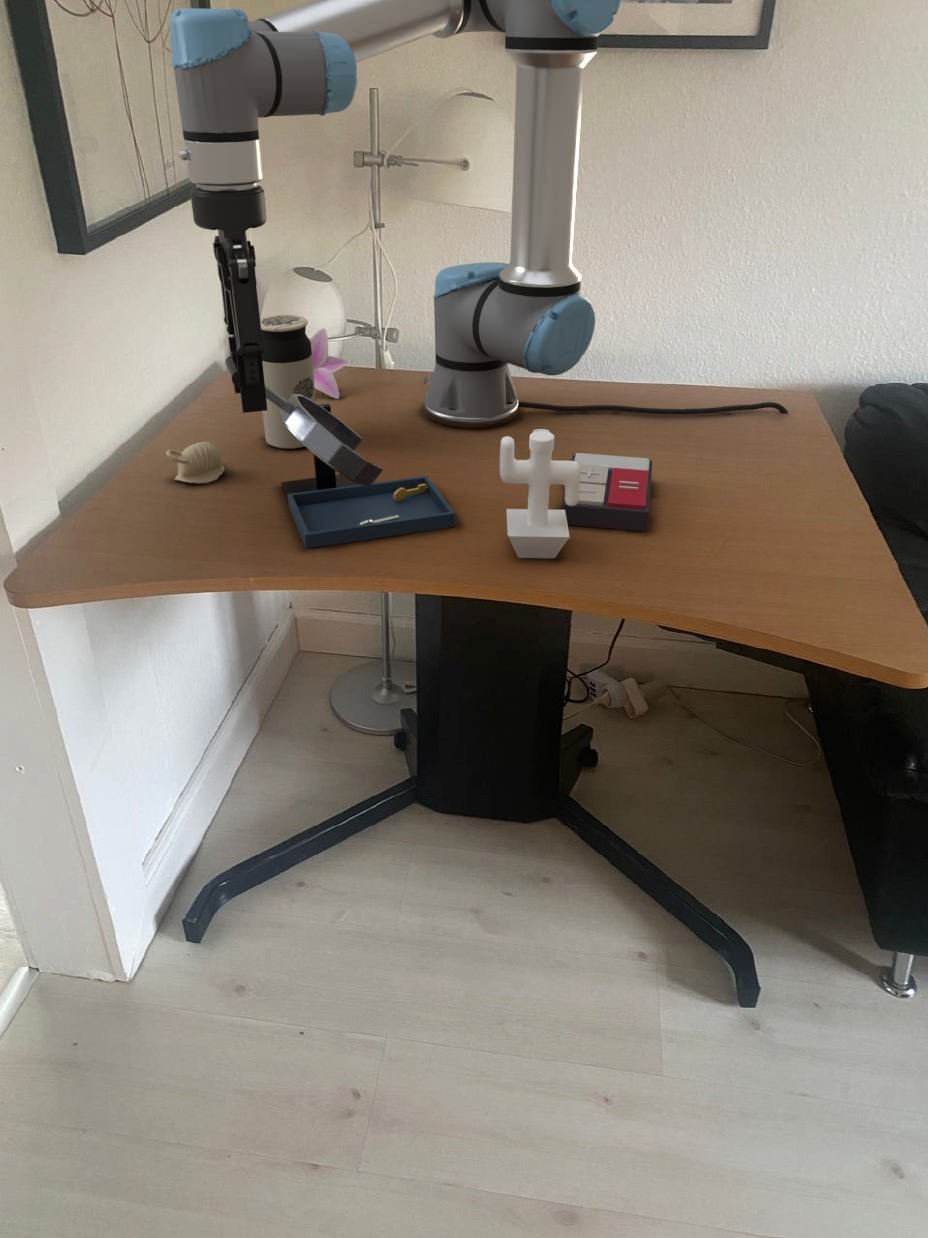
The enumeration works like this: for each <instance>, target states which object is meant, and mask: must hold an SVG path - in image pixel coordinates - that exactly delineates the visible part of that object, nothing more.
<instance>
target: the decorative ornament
mask: <svg viewBox="0 0 928 1238" xmlns="http://www.w3.org/2000/svg"><path fill="white" fill-rule="evenodd" d="M165 453H166V456H167V457H168V458H169V459H171V460H172V461H174V462H176V463H177V474H176V476H175V478H174V481H179V482H183V483H188V484H198V485H199V484H209V483H211V482H215V481H216V480H218V479H219V477H220V476H222V475H223V473H224V472H225V470H226V469H225V466H224V465H223V460H222V457H221V453H220V451H219V450H218V449H217V447H216V446H215V445H214V444H213V443H211V442H209V441H200V442H197V443H193V444H190V445H189V446H187V447H186V448H185V449H183V451H182V452H181V451H179V450H176V449H168V450H167V451H166V452H165ZM174 455H176V456H174ZM177 456H178V457H177Z"/></svg>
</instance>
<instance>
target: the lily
mask: <svg viewBox="0 0 928 1238" xmlns="http://www.w3.org/2000/svg"><path fill="white" fill-rule="evenodd" d="M309 340H310V342H311V350H312V362H313V375H314V387H315V390H318V391H320V392H322V393H324V394H325V395H327V396H329V397H331V398H334V399H336V400H337V399H340V391H339V388H338V387H339V386H338V384H337V382H336V379H335V376H334V373H335V372H337V371H339V370H341V369H342V368H344V367H346V365H347V364H348V361H347V360H345V359H342V358H340V357H336V356H334V355H333V356H332V355H329V338H328V332H327V330H326V328H323V327H322V328H320V329H319V330H318V331H316V332H315V333H314V335H312V336H311V338H310V339H309Z"/></svg>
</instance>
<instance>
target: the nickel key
mask: <svg viewBox="0 0 928 1238" xmlns="http://www.w3.org/2000/svg"><path fill="white" fill-rule="evenodd" d="M397 519H399V515H395V516H391V517H387V518H382V519H378V520H374V521H372V520H365V521H363V522H361V523H360V524H359V525H362V524H369V523H376V522H383V521H390V520H397Z"/></svg>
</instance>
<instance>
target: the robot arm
mask: <svg viewBox="0 0 928 1238" xmlns="http://www.w3.org/2000/svg"><path fill="white" fill-rule="evenodd" d="M620 5H621V0H308V1H306V2H303V3H299V4H297V5H294V6H291V7H288V8H285V9H282V10H279V11H276V12H273V13H270V14H266V15H265V16H262V17H260V18H257V19H254V20H250V21H249V17H248V15H247V13H246V11H244V10H242V9H240V8H200V7H199V8H192V7H191V8H189V7H188V8H187V7H186V8H185V7H182V8H177V9H176V10H174V11H173V12H172V13H171V15H170V18H169V30H170V31H169V32H170V33H169V37H170V38H169V39H170V52H171V61H170V62H171V66H172V68H173V73H174V80H175V86H176V94H177V101H178V108H179V115H180V123H181V130H182V135H183V136H182V137H183V143H184V144H183V145H184V146H185V147H186V148H187V149H182V150H179V152H178V155H179V159H180V160H181V161H187V163H186V166H187V167H186V168H187V174H188V180H189V181H190V182H191V183H193V184H194V186H193V187H192V188H191V189H190V191H189V194H190V195H189V196H190V203H191V209H192V218H193V222H194V224H195V226H197V227H199V228H200V229H204V230H209V231H216V230H217V233H218V235H214V240H213V241H214V242H212V249H213V255H214V259H215V260H216V267H217V275H218V278H219V281H220V288H221V297H222V306H223V315H224V317H223V322H224V324H225V325H226V333H227V334H228V337H227V339H228V348H229V356H232V357H236V359H237V368H238V376H239V385H240V387H238V386H235V385H234V384H233V388H234V394H237V395H238V394H240V401H241V409H242V413H243V414H245V413H246V414H247V413H256V412H263V411H267V401H266V392H265V382H264V372H263V362H262V354H263V352H264V345H263V342H262V333H261V324H260V318H261V315H260V306H259V297H258V288H257V285H258V283H257V282H258V281H257V274H256V266H257V263H256V257H257V256H256V250H255V245H254V244H253V245H252V242H251V241H250V240H248V237H247V233H246V231H248V230H249V229H257V228H260V227H262V226H263V225H265V224H266V222H267V208H266V206H267V205H266V197H265V189H264V188H263V187H262V186H261V185H259V183H260V182H262V181H263V179H264V170H263V158H262V147H261V146H262V145H261V138H260V132H259V119H261V118H269V117H289V116H290V117H291V116H310V115H311V116H312V115H319V116H321V117H324V116H325V115H327V114H334V113H340V112H343V111H345V110H347V108H348V107H350V105H351V104H352V102H353V100H354V98H355V96H356V92H357V88H358V73H357V71H358V67H357V63H360V62H362V61H365V60H368V59H370V58H373V57H375V56H379V55H381V54H383V53H386V52H389V51H392V50H394V49H397V48H399V47H402V46H404V45H407V44H410V43H412V42H415V41H417V40H420V39H423V38H425V37H427V36H430V35H431V36H433V37H435V38H437V39H448V38H450V37H453V36H455V35H459V34H464V33H479V32H480V33H483V32H491V33H503V34H505V35H504V37H505V38H504V52H505V53H506V54H507V56H508V57H509V58H510V59H511V61H512V62H513V63H514V65H515V67H516V69H515V70H516V73H515V74H516V75H515V77H516V78H515V101H514V102H515V103H514V104H515V106H514V133H513V135H514V136H513V166H512V167H513V169H512V195H511V197H512V200H511V233H510V235H511V236H510V261H509V262H508V263H505V262H498V261H497V262H494V261H493V262H492V261H490V262H489V261H488V262H473V263H464V264H458V265H457V264H456V265H452V266H447V267H445V268H443V269H441V270H440V271H439V272H438V273H437V274H436V276H435V279H434V281H435V282H434V295H433V310H434V311H433V312H434V314H433V315H434V347H435V349H434V352H435V354H434V355H435V361H434V362H435V366H434V369H433V372H432V375H431V372H430V371H429V372H427V374H425V375H424V376H423V385H426V384H427V383H428V382H429V381H430V382H429V385H428V388H427V392H426V395H425V398H424V414H425V416H426V417H427V418H428V419H429V420H431V421H432V422H435V423H437V424H440V425H444V426H447V427H453V428H460V429H485V428H493V427H497V426H498V427H499V426H502V425H505V424H508V423H509V422H511V421H513V420H515V419H516V418H517V416H518V413H519V408H526V409H537V410H545V411H553V412H594V411H595V412H599V411H601V412H602V411H605V412H606V411H608V412H609V411H611V412H625V413H626V412H627V413H634V414H635V413H636V414H637V413H638V414H650V415H651V414H652V415H703V414H716V413H726V412H736V411H754V410H760V409H768V408H769V409H770V408H772V409H776V410H777V411H779V412H780V413H781V414H785V415H786V414H787V415H788V414H789V411H788V410H787V408H785V407H784V406H783V405H782V404H780V403H778V402H774V401H764V402H758V403H750V404H733V405H732V404H731V405H723V406H722V405H721V406H713V407H691V408H664V407H663V408H661V407H660V408H659V407H644V406H643V407H641V406H630V405H619V404H617V405H616V404H586V405H559V404H558V405H556V404H549V403H540V402H531V401H520V400H518V395H517V392H516V387H515V385H514V382H513V377H512V375H511V371H510V367H509V365H512V366H515V367H519V368H520V369H524V370H526V371H528V372H529V373H533V374H543V375H547V376H559V375H560V376H561V375H562V374H564V373H567V372H568V371H570V370H571V369H573V368H574V367H575V366H576V365H577V364H578V363H579V362H580V361H581V359H582V357H583V356H584V355H585V354H586V352H587V350H588V348H589V347H590V344H591V342H592V340H593V336H594V333H595V328H596V311H595V309H594V307H593V306H592V303H591V301H590V300H588V299H587V298H586V297H585V296H584V295H581V286H582V285H581V284H582V274H581V273H580V272H579V271H578V270H577V269H576V268H575V266H574V265H573V262H572V259H573V245H574V244H573V243H574V230H575V228H574V227H575V226H574V225H575V213H576V212H575V211H576V198H577V197H576V195H577V184H578V183H577V181H578V168H579V167H578V166H579V151H580V137H581V136H580V135H581V121H582V119H581V118H582V102H583V90H584V88H583V87H584V71H585V67H586V66H587V64H588V63H589V62H590V61H591V59H592V58H593V57H594V56H595V55H596V54H597V53H598V44H599V36H600V35H601V34H603V33H604V32H606V31H607V29H609V28H610V27H611V25H612V24H613V22H614V20H615V19H614V16H615V15H617V14H618V12H619V9H620Z"/></svg>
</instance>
